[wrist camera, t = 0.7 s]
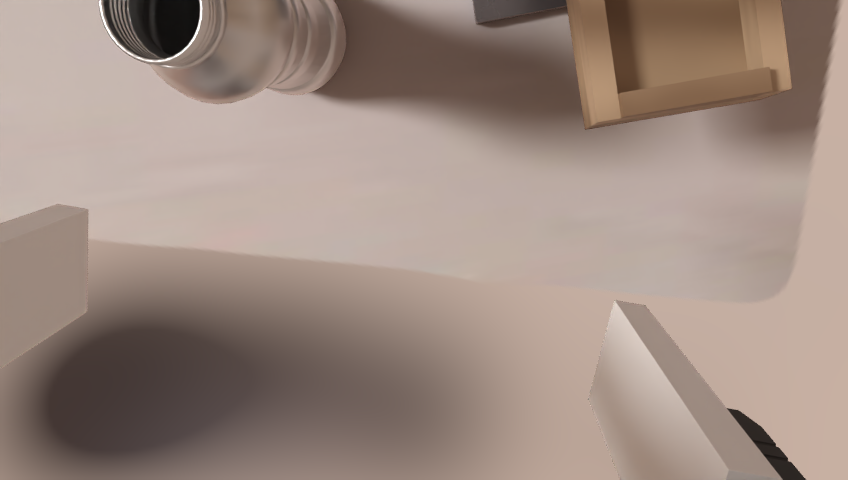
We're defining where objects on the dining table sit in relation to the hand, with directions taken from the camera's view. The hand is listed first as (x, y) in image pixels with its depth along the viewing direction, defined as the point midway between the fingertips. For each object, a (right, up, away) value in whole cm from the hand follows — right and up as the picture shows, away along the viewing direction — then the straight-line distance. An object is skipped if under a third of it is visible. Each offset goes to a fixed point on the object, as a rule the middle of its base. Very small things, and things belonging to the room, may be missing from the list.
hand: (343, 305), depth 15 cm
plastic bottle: (-6, +14, +24) cm, 29 cm away
